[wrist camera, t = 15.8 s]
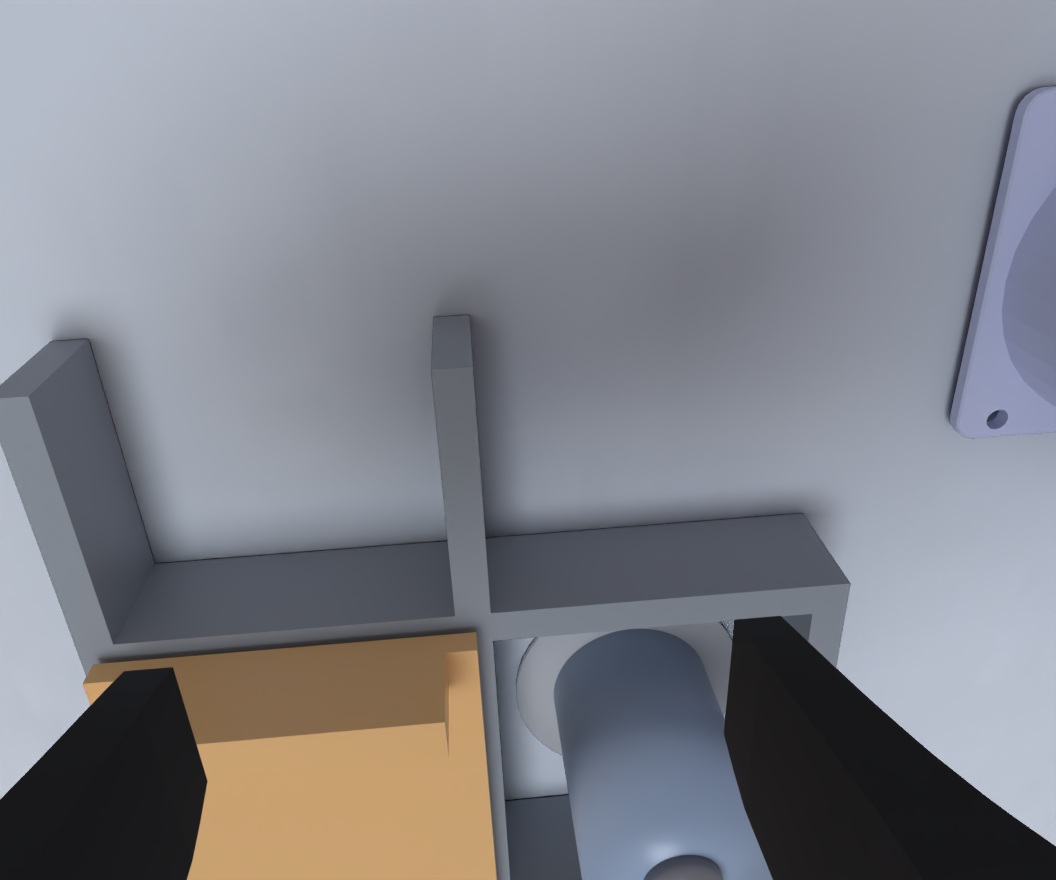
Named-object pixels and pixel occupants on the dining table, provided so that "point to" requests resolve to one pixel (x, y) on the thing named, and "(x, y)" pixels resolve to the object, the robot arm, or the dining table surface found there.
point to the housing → (401, 575)
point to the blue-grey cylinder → (650, 764)
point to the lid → (337, 760)
